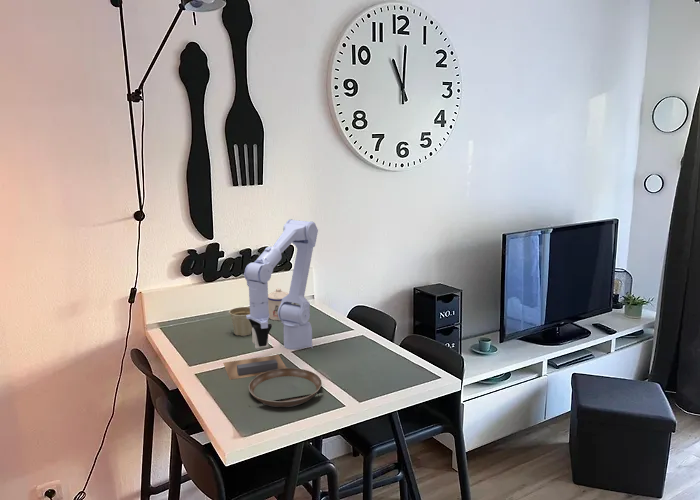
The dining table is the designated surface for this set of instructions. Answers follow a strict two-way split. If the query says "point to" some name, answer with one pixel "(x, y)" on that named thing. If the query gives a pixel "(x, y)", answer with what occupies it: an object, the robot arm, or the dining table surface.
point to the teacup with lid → (275, 303)
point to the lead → (257, 367)
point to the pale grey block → (254, 338)
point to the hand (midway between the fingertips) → (260, 342)
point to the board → (232, 366)
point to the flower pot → (241, 321)
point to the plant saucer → (280, 373)
